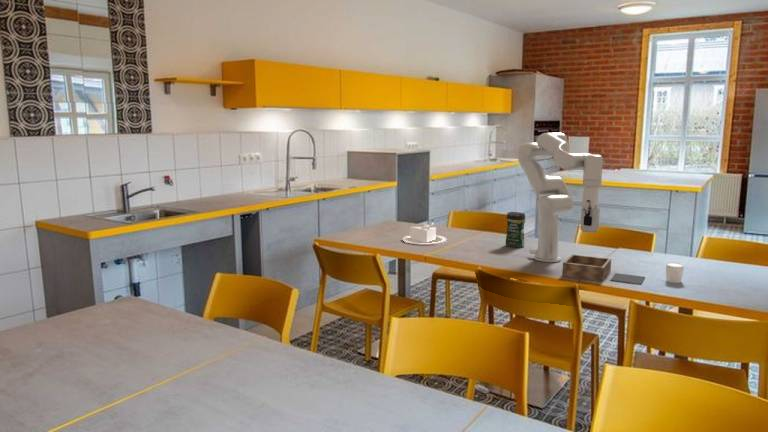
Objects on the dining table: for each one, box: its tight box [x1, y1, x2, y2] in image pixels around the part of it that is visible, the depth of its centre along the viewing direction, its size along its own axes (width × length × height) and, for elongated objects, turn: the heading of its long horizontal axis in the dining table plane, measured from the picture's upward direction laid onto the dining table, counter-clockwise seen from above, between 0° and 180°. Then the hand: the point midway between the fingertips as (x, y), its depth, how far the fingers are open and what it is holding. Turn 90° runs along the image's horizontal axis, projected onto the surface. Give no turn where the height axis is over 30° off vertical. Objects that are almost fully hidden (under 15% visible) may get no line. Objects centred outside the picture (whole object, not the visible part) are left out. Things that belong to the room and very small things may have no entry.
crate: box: [561, 254, 612, 282], centre depth 252 cm, size 17×17×6 cm
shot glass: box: [665, 262, 685, 284], centre depth 240 cm, size 7×7×7 cm
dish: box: [401, 222, 447, 245], centre depth 321 cm, size 25×25×11 cm
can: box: [579, 203, 601, 233], centre depth 248 cm, size 8×8×12 cm
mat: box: [610, 272, 646, 286], centre depth 244 cm, size 12×12×1 cm
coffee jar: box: [505, 211, 526, 248], centre depth 305 cm, size 10×8×19 cm
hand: (589, 223), depth 248 cm, fingers closed on can, 7 cm apart
